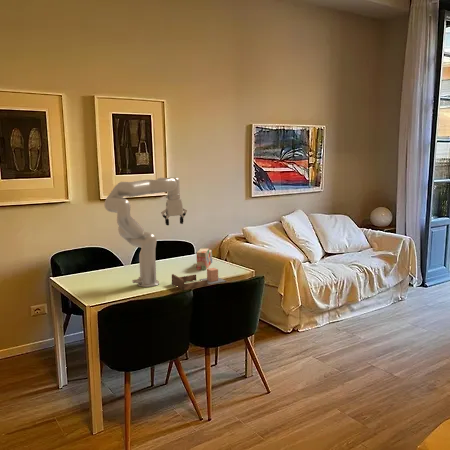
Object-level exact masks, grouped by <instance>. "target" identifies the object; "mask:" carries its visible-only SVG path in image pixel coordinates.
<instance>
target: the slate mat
mask: <svg viewBox="0 0 450 450" xmlns="http://www.w3.org/2000/svg"><path fill="white" fill-rule="evenodd" d="M201 280H202V281H203V280H207V277H204V278H199V281H201ZM220 283H227V280H226V279H223V278H221V277H219V276H218V281H213V282H210V281H208V280H207V285H209V286H210V285H216V284H220Z"/></svg>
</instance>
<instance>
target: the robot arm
mask: <svg viewBox="0 0 450 450" xmlns="http://www.w3.org/2000/svg"><path fill="white" fill-rule="evenodd" d="M180 189H181V188H180V178H179V177H175V176H174V177H172V176H171V177H158V178H157V179H143V180H133V181H120V182H118V183H117V184H115V186H114V187H113V189H112V190H111V191H110V193H109V194H108V196H107V197H106V199H105V201H104V208H105V210H106V211H107V212H109V213H116V223H117V225H118V229H117V230H118V233H119V235H120V237H121V238H123V239H124V240H125V241H126V242H128V243H129V244H130V245H131V246H133V247H136V248H141V249H140V252H139V255H138V256H139V257H138V258H139V259H138V260H139V276H138V278H137V279H132V281H131V282H132V283H133V284H137V286H138V287H141V288H142V287H143V288H152V287H156V286H158V285H159V284H160V280H159V279H158V280H157V264H156V263H157V262H156V248H157V242H158V241H157V237H156V236H155V234H154V233H152V232H148V231H144V228H143V226H142V225H141V224H140V223H138V221H136V219H134V218H133V217H132V215H131V202H130V201H129V200H128V199H127V198H124V197H128V198H134V197H140V196H145V195H152V194H153V195H154V194H159V193H161V194H162V193H167V195H165V198H166V203H165V209H164V210H161V212H160V214H161V216H162V217H163V218H164V219H165V221H164V222H165V223H164V224H165V225H166V226H169V225H170V219H169V217H175V216H176V217H177V216H179V224H181V225H183V224H184V218H185V216H186V214H187V212H188V210H187V209H185V208H183V200H182V199H181V194H180Z"/></svg>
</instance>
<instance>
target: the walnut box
mask: <svg viewBox="0 0 450 450" xmlns="http://www.w3.org/2000/svg"><path fill="white" fill-rule="evenodd" d="M193 280H195V281H193ZM186 281H190V282H186ZM171 284H172V285H173V286H174V285H175V287H176V286H178V287H177V288H178V289H179V290H181V291H188V290H193V289H194V290H195V289H198V288H203V287H208V284H207V280H203V281H201V280H199V281H197V274H196V273H195V274H191V275H186V276H185V275H184V276H177V275H176V274H174V273H172V274H171Z"/></svg>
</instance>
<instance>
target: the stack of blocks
mask: <svg viewBox="0 0 450 450" xmlns="http://www.w3.org/2000/svg"><path fill="white" fill-rule="evenodd" d="M212 263H213V250H212V249H210V248H201V247H200V249H198V251H197V252H196V270H197V271H207V269H209V268H210V266H211V265H212Z"/></svg>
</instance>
